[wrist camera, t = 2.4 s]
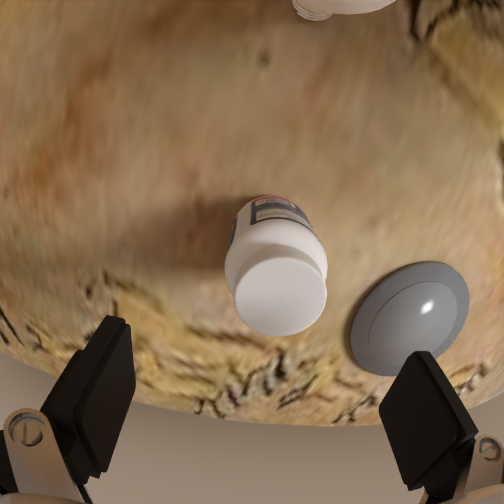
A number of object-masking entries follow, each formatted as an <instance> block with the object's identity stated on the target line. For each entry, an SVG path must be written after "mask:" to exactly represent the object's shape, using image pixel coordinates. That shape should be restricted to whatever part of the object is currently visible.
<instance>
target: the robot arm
mask: <svg viewBox="0 0 504 504" xmlns="http://www.w3.org/2000/svg"><path fill="white" fill-rule="evenodd" d="M135 387H136V380H135V372H134V362H133V352H132V340H131V328H130V325H129V324H126V323H125V319H123V318H119V317H114V316H110V315H107V316H106V317H105V318H104V319H103V321H102V322H101V324H100V325H99V327H98V328H97V330H96V331H95V333H94V335H93V336H92V338H91V339H90V341H89V342H88V344H87V345H86V347H85V349H84V350H80V349H79V350H77V351H76V352H75V354H74V355H73V357H72V358H71V360H70V361H69V363H68V364H67V366H66V368H65V369H64V371H63V372H62V374H61V376H60V377H59V379H58V380H57V382H56V384H55V386H54V387H53V389H52V390H51V392H50V394H49V395H48V397H47V399H46V401H45V402H44V404H43V406H42V407H41V409H40V411H38V410H36V409H31V408H21V409H19V410H16V411H14V412H13V413H11V414H10V415H9V416H8V417H7V419H6V420H5V423H4V430H0V504H94V502H93V500H92V498H91V496H90V494H89V492H88V490H87V488H86V486H85V484H86V483H87V482H88V479H89V476H92V477H95V478H98V479H99V477H100V474H101V472H107V470H108V467H109V464H110V461H111V458H112V455H113V452H114V449H115V446H116V443H117V440H118V437H119V434H120V431H121V428H122V425H123V422H124V420H125V417H126V414H127V411H128V409H129V406H130V403H131V400H132V398H133V395H134V392H135ZM379 415H380V417H381V420H382V423H383V425H384V428H385V431H386V433H387V436H388V439H389V442H390V445H391V447H392V451H393V453H394V456H395V459H396V462H397V465H398V468H399V471H400V474H401V477H402V480H403V482H404V484H406V485H407V487H408V490H409V491H412V490H415V489H419V488H421V487H423V486H424V488H425V491H424V494H423V496H422V499H421V501H420V503H419V504H504V448H503V446H502V444H501V442H500V441H499V440H498V439H497V438H495V437H494V436H492V435H489V434H483V435H481V436H479V437H478V438H477V439H476V440H475V438H474V436H475V435H476V434H477V433H478V432H479V431H478V429H477V427H476V426H475V424H474V422H473V421H472V419H471V417H470V415H469V414H468V412H467V410H466V408H465V407H464V405H463V403H462V402H461V400H460V398H459V397H458V395H457V393H456V392H455V390H454V388H453V387H452V385H451V384H450V382H449V380H448V379H447V377H446V376H445V374H444V372H443V371H442V369H441V368H440V366H439V365H438V363H437V362H436V360H435V359H434V357H433V356H432V354H431V353H430V352H429V351H414V352H413V353H412V354H411V355H409V356H408V357H407V359H406V361H405V363H404V365H403V366H402V368H401V370H400V372H399V374H398V375H397V377H396V379H395V381H394V382H393V384H392V386H391V387H390V389H389V391H388V392H387V394H386V396H385V397H384V399H383V400H382V402H381V404H380V406H379Z"/></svg>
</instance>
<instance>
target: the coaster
mask: <svg viewBox="0 0 504 504" xmlns="http://www.w3.org/2000/svg"><path fill="white" fill-rule="evenodd" d="M468 309H469V292H468V288H467V285H466V283H465V281H464V279H463V278H462V276H461V275H460V274H459V273H458V272H457V271H456V270H454V269H453V268H452V267H451V266H449V265H447V264H444V263H441V262H435V261H423V262H418V263H414V264H411V265H407V266H405V267H403V268H401V269H399V270H397V271H395V272H393V273H392V274H390V275H389V276H387V277H386V278H385V279H383V280H382V281H381V282H380V283H379V284H377V285H376V286H375V287H374V288H373V289H372V290H371V291H370V293H369V294H368V295H367V296H366V298H365V299H364V300H363V301H362V303H361V305H360V306H359V308H358V310H357V312H356V314H355V316H354V319H353V322H352V325H351V330H350V345H351V349H352V352H353V354H354V357H355V359H356V361H357V362H358V363H359V365H360V366H361V367H362V368H364V369H365V370H367V371H368V372H370V373H373V374H376V375H380V376H397V375H398V374H399V372H400V370H401V368H402V366H403V365H404V363H405V361H406V359H407V357H408V356H409V355H411V354H412V353H413V352H414V351H429V352H430V353H431V354H432V356H433V357H434V359H437V358H438V357H439V356H440V355H441V354H443V353H444V352H445V351H446V350H447V349H448V348H449V346H450V345H451V344H452V343H453V342H454V340H455V339H456V337H457V336H458V334H459V333H460V331H461V329H462V327H463V325H464V323H465V320H466V317H467V314H468Z"/></svg>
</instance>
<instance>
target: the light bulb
mask: <svg viewBox="0 0 504 504" xmlns="http://www.w3.org/2000/svg"><path fill="white" fill-rule="evenodd" d="M395 1H396V0H291V2H292V5H293V7H294V9H295V11H296V13H297V14H298V15H299V16H301V17H303V18H304V19H307V20H311V21H324V20H326V19H328V18H331V17H332V16H333V15H334V13H336V14H349V15H351V14H362V13H369V12H373V11H376V10H380V9H381V8H383V7H385V6H387V5H389V4H391V3H393V2H395Z"/></svg>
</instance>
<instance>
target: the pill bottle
mask: <svg viewBox="0 0 504 504" xmlns="http://www.w3.org/2000/svg"><path fill="white" fill-rule="evenodd" d="M326 276H327V258H326V254H325V251H324V249H323V246H322V244H321V242H320V240H319V239H318V237H317V235H316V233H315V231H314V230H313V228H312V226H311V224H310V222H309V221H308V219H307V217H306V215H305V214H304V212H303V211H302V209H301V208H300V207H299V206H298V205H297V204H295V203H294V202H293V201H291V200H289V199H287V198H284V197H281V196H275V195H268V196H262V197H259V198H256V199H254V200H252V201H250V202H249V203H247V204H246V205H245V206H244V207H243V208H242V209H241V210H240V211H239V212H238V214H237V215H236V217H235V219H234V222H233V225H232V229H231V234H230V238H229V243H228V248H227V253H226V258H225V278H226V282H227V285H228V288H229V290H230V292H231V293H232V295H233V296H234V304H235V308H236V311H237V313H238V315H239V317H240V318H241V319H242V321H243V322H244V323H245V324H246V325H247V326H248V327H250V328H251V329H253V330H254V331H256V332H258V333H261V334H265V335H269V336H287V335H292V334H295V333H298V332H300V331H302V330H304V329H306V328H308V327H309V326H310V325H311V324H313V323H314V322H315V321H316V320H317V319H318V317H319V316H320V315H321V313H322V311H323V309H324V307H325V304H326V298H327V290H326V285H325V280H326Z"/></svg>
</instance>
